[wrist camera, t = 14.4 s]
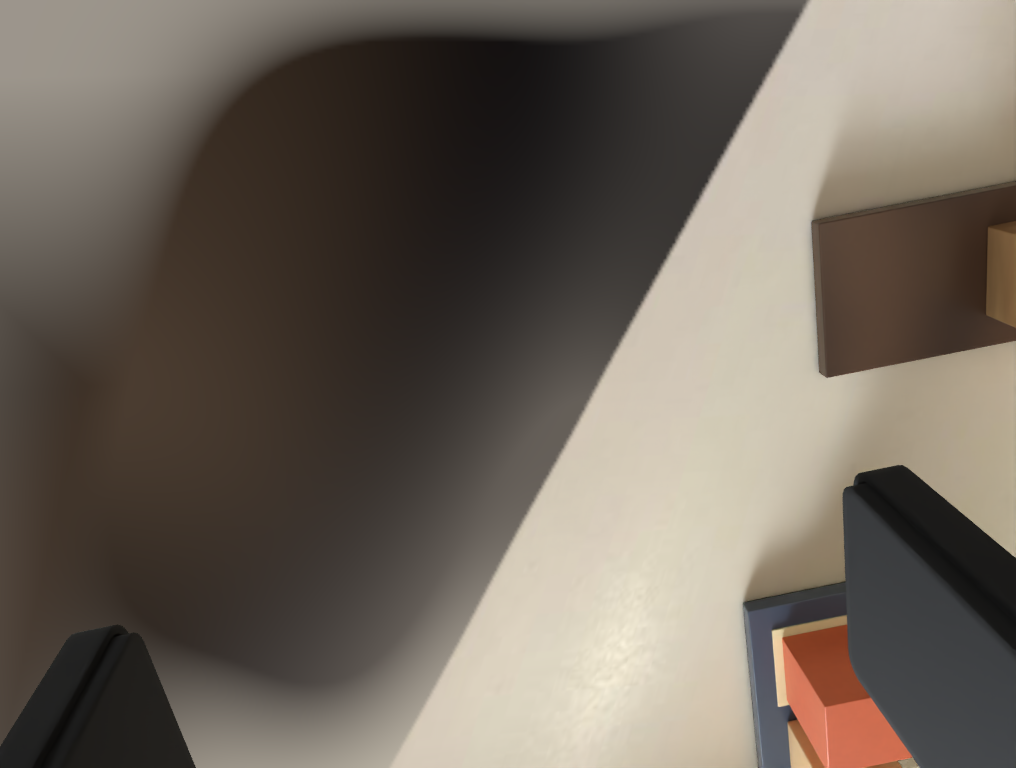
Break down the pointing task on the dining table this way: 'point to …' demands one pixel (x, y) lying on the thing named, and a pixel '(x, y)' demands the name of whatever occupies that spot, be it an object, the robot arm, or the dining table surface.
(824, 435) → the dining table surface
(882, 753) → the matte orange cube
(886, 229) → the wooden cubes on board
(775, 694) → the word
